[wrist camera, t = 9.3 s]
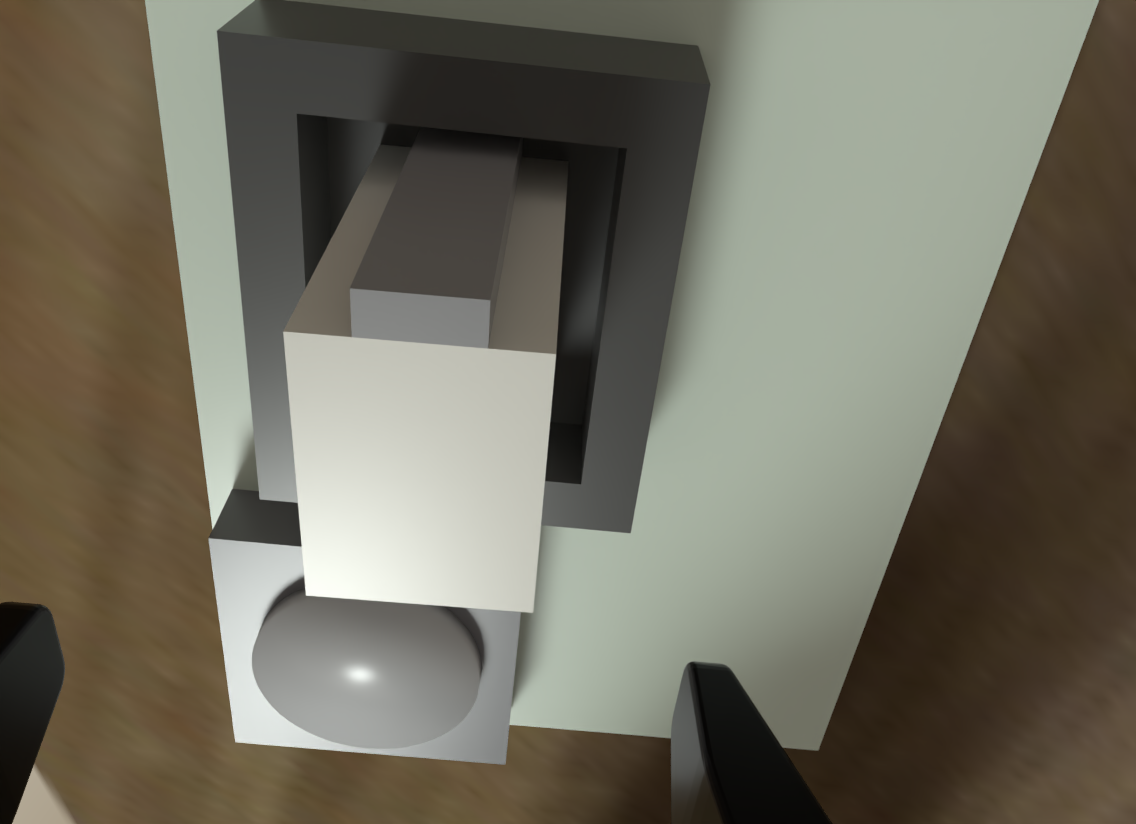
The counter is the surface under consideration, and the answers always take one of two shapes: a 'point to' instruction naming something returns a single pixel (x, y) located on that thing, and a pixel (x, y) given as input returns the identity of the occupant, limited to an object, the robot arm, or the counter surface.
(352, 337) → the plug
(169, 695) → the counter surface
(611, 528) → the board
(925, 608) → the counter surface
